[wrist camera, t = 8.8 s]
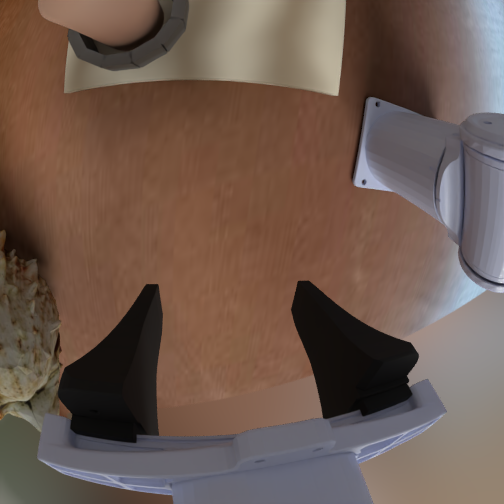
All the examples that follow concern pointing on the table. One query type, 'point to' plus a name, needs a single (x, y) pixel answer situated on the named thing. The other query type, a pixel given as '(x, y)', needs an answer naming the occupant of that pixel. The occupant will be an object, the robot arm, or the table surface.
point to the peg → (108, 19)
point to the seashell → (27, 341)
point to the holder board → (223, 46)
